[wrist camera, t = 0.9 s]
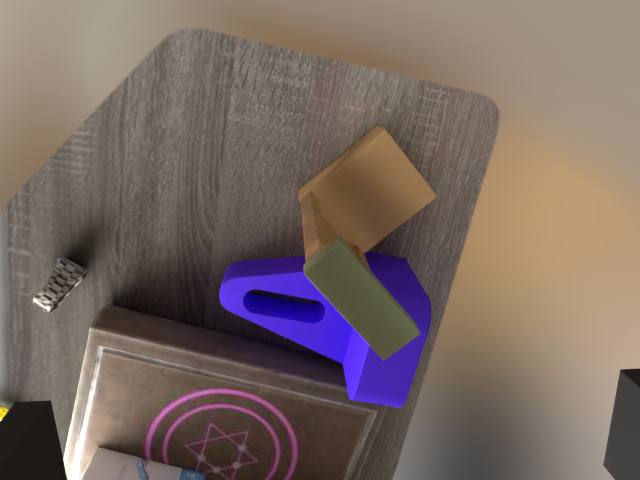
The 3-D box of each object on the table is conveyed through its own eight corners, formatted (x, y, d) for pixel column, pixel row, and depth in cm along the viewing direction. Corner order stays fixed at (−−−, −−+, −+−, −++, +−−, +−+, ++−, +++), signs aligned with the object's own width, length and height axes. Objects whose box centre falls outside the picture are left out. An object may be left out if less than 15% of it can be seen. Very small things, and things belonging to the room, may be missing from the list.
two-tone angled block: (378, 124, 50) (438, 167, 30) (426, 186, 52) (513, 266, 32) (298, 190, 52) (303, 273, 31) (348, 248, 54) (383, 361, 34)
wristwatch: (85, 280, 55) (88, 268, 51) (47, 318, 53) (47, 309, 48) (61, 261, 55) (62, 248, 50) (22, 299, 52) (19, 288, 48)
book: (72, 469, 61) (54, 503, 56) (107, 299, 54) (90, 322, 50) (324, 520, 65) (327, 555, 60) (385, 369, 59) (393, 396, 54)
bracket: (405, 259, 55) (435, 309, 44) (379, 349, 58) (400, 418, 47) (233, 225, 53) (218, 269, 41) (216, 321, 56) (197, 386, 45)
